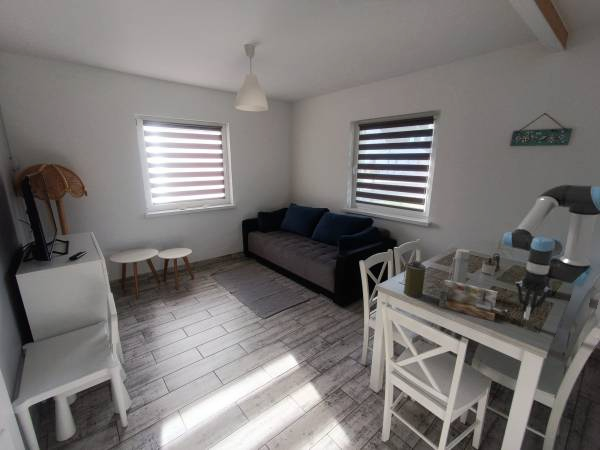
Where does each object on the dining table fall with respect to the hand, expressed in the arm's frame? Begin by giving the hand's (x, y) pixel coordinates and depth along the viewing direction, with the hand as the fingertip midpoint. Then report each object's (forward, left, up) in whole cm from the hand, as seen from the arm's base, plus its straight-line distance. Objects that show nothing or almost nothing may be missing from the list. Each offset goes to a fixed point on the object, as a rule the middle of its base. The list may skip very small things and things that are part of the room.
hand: (525, 318), depth 125 cm
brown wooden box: (+24, 0, -4) cm, 24 cm away
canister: (+51, -2, -4) cm, 51 cm away
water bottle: (+31, -23, -4) cm, 38 cm away
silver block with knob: (+13, 0, -2) cm, 13 cm away
